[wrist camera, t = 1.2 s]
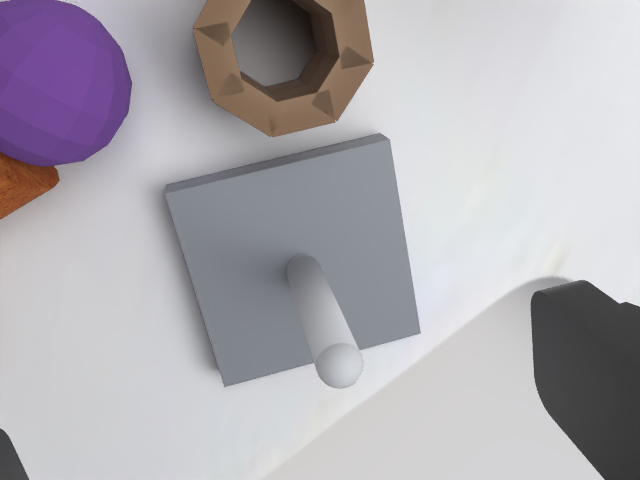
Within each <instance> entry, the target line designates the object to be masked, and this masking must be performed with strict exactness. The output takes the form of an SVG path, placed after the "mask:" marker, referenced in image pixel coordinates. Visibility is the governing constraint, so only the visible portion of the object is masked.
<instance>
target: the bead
mask: <svg viewBox="0 0 640 480" xmlns="http://www.w3.org/2000/svg"><path fill="white" fill-rule="evenodd" d="M291 1H293V2H294V3H295V4H297V5H298V6H300V7H301V8H303V9H304V10H305V11H307V12H308V13H309V14H310V19H311V25H312V30H313V35H314V40H315V45H316V51H315V52H314V54H313V55H312V57H311V59H310V60H309V62H308V64H307V65H306V67H305V68H304V70H303V72H302V73H301V75H300V77H299V78H298V79H297V80H292V81H288V82H284V83H279V84H275V85H271V86H266V87H264V86H263V85H261V84H259V83H258V82H256V81H255V80H253V79H252V78H250V77H249V76H247V75H245V74H244V73H242V72H241V71H239V67H238V63H237V59H236V55H235V51H234V47H233V43H232V38H231V34H232V32H233V31H234V29H235V27H236V26H237V24H238V22H239V20H240V19H241V17H242V15H243V14H244V12H245V10H246V8H247V7H248V5H249V3H250V2H251V0H208V1H207V3H206V5H205V7H204V8H203V10H202V12H201V14H200V15H199V17H198V19H197V21H196V22H195V24H194V26H193V27H194V28H193V32H194V36H195V40H196V44H197V47H198V51H199V55H200V59H201V62H202V66H203V70H204V74H205V78H206V81H207V85H208V89H209V93H210V97H211V100H212V99H213V102H214V103H216V104H218V105H219V106H221V107H222V108H224V109H226V110H227V111H229V112H231V113H232V114H234V115H235V116H237V117H239V118H240V119H242V120H244V121H245V122H247V123H248V124H250V125H252V126H253V127H255V128H257V129H258V130H260V131H261V132H263V133H265V134H266V135H268V136H269V137H271V136H272V137H276V136H280V135H284V134H288V133H293V132H297V131H301V130H305V129H310V128H314V127H318V126H322V125H326V124H331V123H335V120H336V121H338V119H339V117H340V116H341V114H342V113H343V111H344V110H345V108H346V107H347V105H348V103H349V102H350V100H351V99H352V97H353V96H354V94H355V93H356V91H357V89H358V88H359V86H360V85H361V83H362V82H363V80H364V79H365V77H366V75H367V74H368V72H369V71H370V69H371V68H372V66H373V65H374V64H372V63H373V62H374V59H373V53H372V47H371V40H370V34H369V28H368V22H367V16H366V9H365V3H364V0H291Z"/></svg>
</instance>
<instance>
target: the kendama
mask: <svg viewBox="0 0 640 480" xmlns="http://www.w3.org/2000/svg"><path fill="white" fill-rule="evenodd" d="M131 87H132V81H131V78H130V75H129V71H128V68H127V64H126V61H125V57H124V54H123V51H122V50H121V48H120V46H119V45H118V44H117V42H116V41H115V40H114V39H113V37H112V36H111V35H110V34H109V33H108V31H107V30H106V29H105V28H104V26H103V25H102V24H101V23H100V22H99V21H98V20H97V19H96V18H95V17H94V16H92V15H91V14H89V13H88V12H86V11H85V10H83V9H81V8H79V7H77V6H75V5H72V4H69V3H65V2H61V1H57V0H11V1H5V2H0V219H2V218H3V217H5V216H7V215H8V214H10V213H12V212H13V211H15V210H17V209H18V208H20V207H22V206H23V205H25V204H27V203H28V202H30V201H32V200H33V199H35V198H37V197H38V196H40V195H42V194H43V193H45V192H47V191H48V190H50V189H52V188H53V187H55V185H56V184H57V183H58V182H59V176H58V172H57V170H56V168H55V167H54V165H60V164H67V163H73V162H80V161H84V160H85V159H87V158H88V157H90V156H92V155H93V154H95V153H96V152H98V151H99V150H101V149H102V148H104V147H105V146H107V145H108V144H109V142H110V141H111V139H112V138H113V136H114V135H115V133H116V132H117V130H118V128H119V127H120V125H121V123H122V122H123V120H124V119H125V117H126V115H127V114H128V111H129V103H130V95H131Z"/></svg>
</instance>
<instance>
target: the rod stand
mask: <svg viewBox="0 0 640 480" xmlns="http://www.w3.org/2000/svg"><path fill="white" fill-rule="evenodd" d="M165 197H166V200H167V203H168V207H169V210H170V213H171V216H172V219H173V223H174V226H175V229H176V232H177V236H178V239H179V242H180V245H181V248H182V252H183V255H184V258H185V261H186V265H187V268H188V271H189V274H190V277H191V281H192V284H193V287H194V290H195V294H196V297H197V300H198V303H199V306H200V310H201V313H202V316H203V319H204V323H205V326H206V329H207V332H208V335H209V339H210V342H211V345H212V348H213V352H214V355H215V358H216V361H217V364H218V368H219V371H220V374H221V377H222V381H223V384H224V387H226V386H230V385H234V384H237V383H241V382H245V381H248V380H252V379H256V378H259V377H263V376H267V375H270V374H274V373H278V372H281V371H285V370H289V369H292V368H296V367H300V366H303V365H307V364H311V363H314V364H315V367H316V370H317V373H318V375H319V377H320V378H321V380H322V381H323V382H324V383H325V384H327V385H328V386H331V387H334V388H346V387H349V386H351V385H353V384H354V383H355V382H356V381H357V380H358V379H359V377H360V375H361V373H362V371H363V359H362V355H361V353H360V351H359V350H362V349H366V348H369V347H373V346H377V345H380V344H384V343H387V342H391V341H395V340H398V339H402V338H406V337H409V336H413V335H417V334H420V333H421V332H420V326H419V320H418V314H417V307H416V301H415V295H414V288H413V282H412V276H411V270H410V263H409V257H408V251H407V245H406V238H405V232H404V226H403V220H402V213H401V207H400V201H399V194H398V188H397V182H396V176H395V169H394V163H393V157H392V151H391V144H390V139H388V138H387V137H385V136H384V135H382V134H381V133H380V134H376V135H371V136H367V137H363V138H359V139H355V140H351V141H347V142H342V143H338V144H334V145H330V146H326V147H322V148H317V149H313V150H309V151H305V152H301V153H297V154H293V155H288V156H284V157H280V158H276V159H272V160H268V161H263V162H259V163H255V164H251V165H247V166H243V167H239V168H234V169H230V170H226V171H222V172H218V173H214V174H209V175H205V176H201V177H197V178H193V179H189V180H185V181H180V182H176V183H172V184H168V185H166V190H165Z"/></svg>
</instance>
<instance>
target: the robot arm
mask: <svg viewBox="0 0 640 480" xmlns="http://www.w3.org/2000/svg"><path fill="white" fill-rule="evenodd" d="M531 319H532V320H531V321H532V342H533V360H534V378H535V383H536V387H537V390H538V393H539V396H540V398H541V401H542V403H543V405H544V407H545V409H546V410H547V411H548V413H549V415H550V416H551V417H552V418H553V419H554V420H555V422H556V423H557V424H558V425H559V427H560V428H561V429H562V430H563V431H564V432H565V433H566V434H567V436H568V437H569V438H570V439H571V440H572V442H573V443H574V444H575V445H576V446H577V448H578V449H579V450H580V451H581V452H582V453H583V455H584V456H585V457H586V458H587V459H588V461H589V462H590V463H591V464H592V465H593V466H594V468H596V470H597V471H598V472H599V473H600V474H601V476H602V477H603V478H604V479H605V480H640V307H639V306H636V305H633V304H630V303H627V302H624V303H621V304H619V303H618V302H616V301H615V300H613V299H612V298H611V297H609V296H608V295H606V294H605V293H604V292H602V291H601V290H599V289H598V288H597V287H595V286H594V285H592V284H591V283H589V282H588V281H585V280H579V281H575V282H571V283H568V284H564V285H560V286H556V287H552V288H548V289H544V290H540V291H537V292H535V293H534V294H533V296H532V299H531ZM0 480H29V478H28V476H27V474H26V472H25V470H24V468H23V465H22V463H21V461H20V459H19V457H18V455H17V453H16V450H15V448H14V446H13V444H12V442H11V440H10V438H9V436H8V435H7V434H6V432H5V431H3V430H2V429H0Z"/></svg>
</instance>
